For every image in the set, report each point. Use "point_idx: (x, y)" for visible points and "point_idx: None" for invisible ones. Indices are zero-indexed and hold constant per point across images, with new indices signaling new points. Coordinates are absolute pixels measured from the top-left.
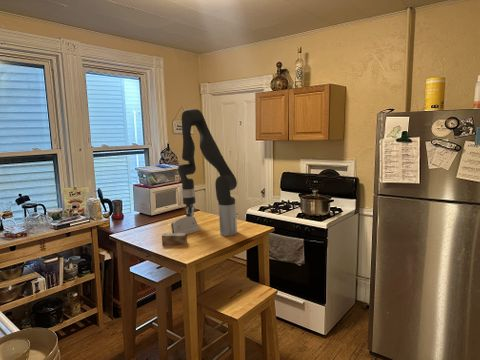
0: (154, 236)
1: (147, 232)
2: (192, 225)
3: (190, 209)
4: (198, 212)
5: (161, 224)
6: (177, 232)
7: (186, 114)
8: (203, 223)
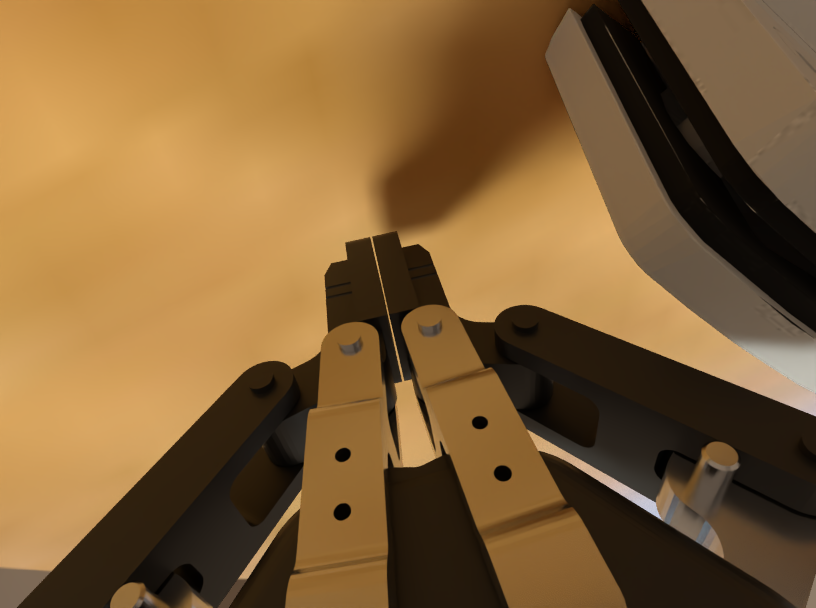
0: (794, 407)
1: (643, 506)
2: (810, 60)
3: (625, 552)
4: None
5: None
6: None
7: None
8: (116, 20)
